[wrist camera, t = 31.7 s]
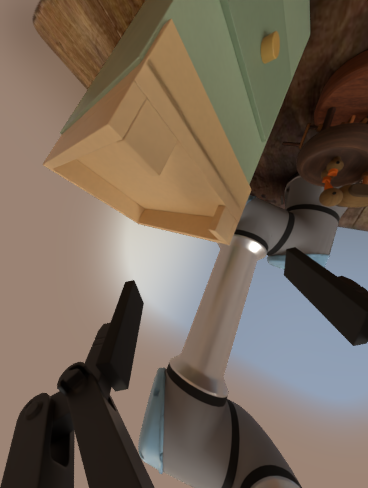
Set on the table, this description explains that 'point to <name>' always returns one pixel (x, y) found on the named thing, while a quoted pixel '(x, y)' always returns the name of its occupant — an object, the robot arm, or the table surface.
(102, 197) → the drawer stand
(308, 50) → the table surface
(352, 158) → the music box
